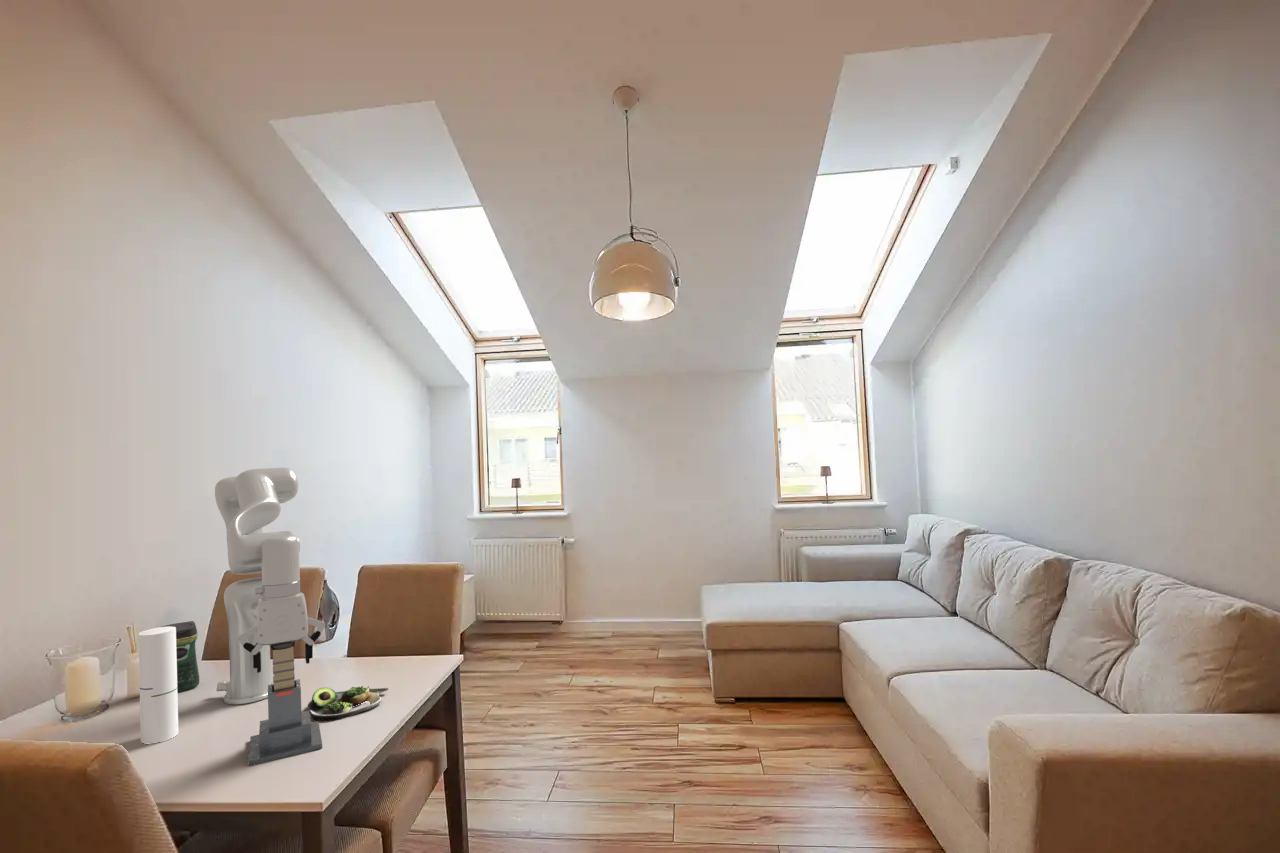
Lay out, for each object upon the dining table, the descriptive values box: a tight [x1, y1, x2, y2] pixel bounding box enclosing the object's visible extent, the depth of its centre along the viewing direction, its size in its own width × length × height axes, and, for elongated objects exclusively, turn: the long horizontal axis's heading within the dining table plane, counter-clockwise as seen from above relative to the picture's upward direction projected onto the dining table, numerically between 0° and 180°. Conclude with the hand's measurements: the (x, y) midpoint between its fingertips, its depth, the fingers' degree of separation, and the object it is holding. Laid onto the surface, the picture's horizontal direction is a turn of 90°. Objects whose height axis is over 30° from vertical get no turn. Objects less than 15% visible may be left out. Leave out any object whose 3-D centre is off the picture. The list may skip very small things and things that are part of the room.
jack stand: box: [248, 679, 323, 767], centre depth 147 cm, size 14×14×13 cm
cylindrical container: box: [137, 626, 179, 744], centre depth 153 cm, size 7×7×25 cm
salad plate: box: [307, 685, 389, 722], centre depth 169 cm, size 19×18×5 cm
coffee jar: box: [160, 620, 200, 693], centre depth 185 cm, size 10×8×19 cm
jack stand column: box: [270, 640, 297, 692], centre depth 147 cm, size 5×5×22 cm
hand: (283, 666), depth 147 cm, fingers open, 9 cm apart
